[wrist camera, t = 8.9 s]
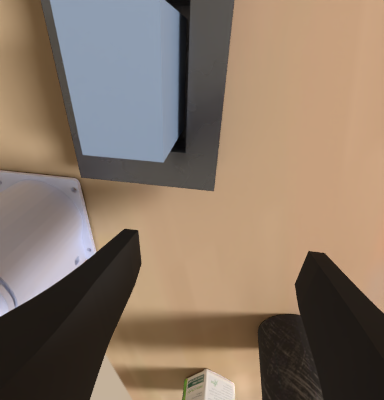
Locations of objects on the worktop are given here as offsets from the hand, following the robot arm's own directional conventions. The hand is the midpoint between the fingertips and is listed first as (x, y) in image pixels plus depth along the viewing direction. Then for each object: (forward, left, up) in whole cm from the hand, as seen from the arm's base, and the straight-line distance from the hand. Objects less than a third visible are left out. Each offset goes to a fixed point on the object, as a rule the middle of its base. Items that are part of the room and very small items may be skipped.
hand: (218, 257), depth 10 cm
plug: (+6, +5, -9) cm, 12 cm away
